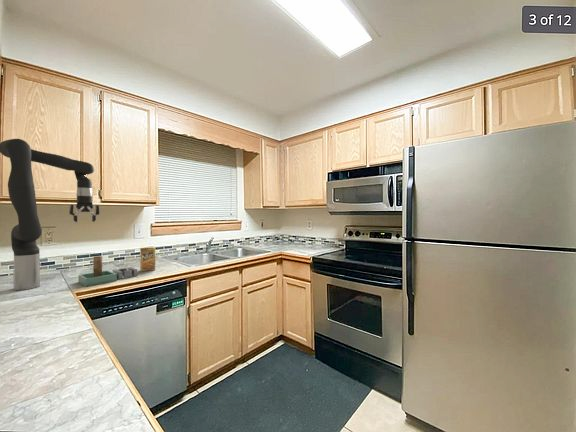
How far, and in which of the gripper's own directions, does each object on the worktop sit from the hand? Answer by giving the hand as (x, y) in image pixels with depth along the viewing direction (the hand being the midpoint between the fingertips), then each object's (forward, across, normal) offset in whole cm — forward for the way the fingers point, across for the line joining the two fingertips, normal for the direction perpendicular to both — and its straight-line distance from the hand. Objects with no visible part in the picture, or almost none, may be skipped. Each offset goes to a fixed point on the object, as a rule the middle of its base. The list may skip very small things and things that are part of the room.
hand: (84, 221), depth 155 cm
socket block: (+33, +14, -22) cm, 42 cm away
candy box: (+33, +30, -16) cm, 48 cm away
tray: (+33, 0, -23) cm, 40 cm away
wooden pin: (+32, 0, -23) cm, 39 cm away
